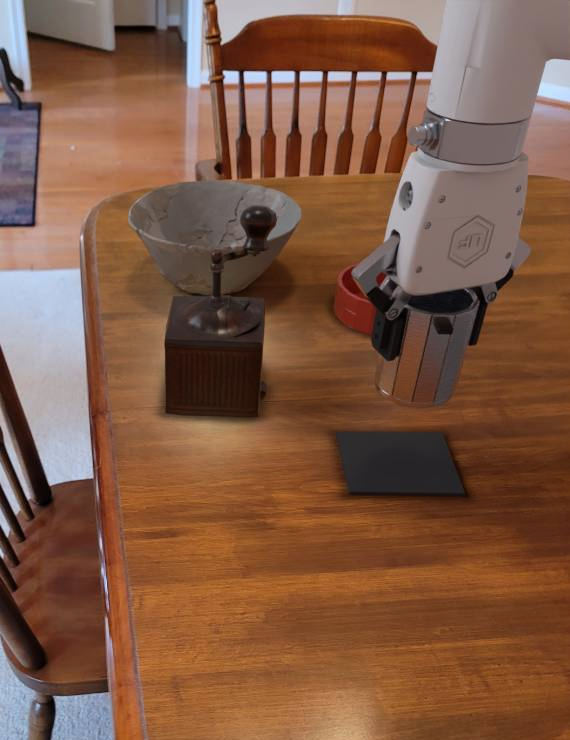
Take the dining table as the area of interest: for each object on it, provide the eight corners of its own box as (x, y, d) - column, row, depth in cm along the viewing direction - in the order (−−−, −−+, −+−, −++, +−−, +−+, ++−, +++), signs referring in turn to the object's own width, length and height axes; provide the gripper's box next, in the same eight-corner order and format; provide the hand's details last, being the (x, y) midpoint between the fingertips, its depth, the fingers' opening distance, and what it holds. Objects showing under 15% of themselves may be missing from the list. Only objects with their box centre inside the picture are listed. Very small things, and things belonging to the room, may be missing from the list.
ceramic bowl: (298, 253, 121) (306, 182, 115) (287, 329, 105) (295, 252, 98) (149, 243, 124) (147, 174, 118) (115, 316, 108) (111, 240, 101)
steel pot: (441, 359, 81) (463, 270, 75) (465, 416, 74) (492, 324, 68) (367, 358, 81) (383, 270, 75) (383, 415, 74) (403, 323, 68)
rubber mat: (441, 438, 87) (442, 432, 87) (463, 499, 80) (465, 493, 79) (335, 437, 88) (336, 431, 87) (348, 498, 80) (349, 491, 80)
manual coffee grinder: (265, 422, 90) (279, 261, 78) (163, 417, 91) (161, 257, 78) (266, 349, 101) (279, 199, 89) (175, 345, 102) (175, 196, 90)
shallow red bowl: (425, 292, 112) (432, 260, 109) (446, 341, 102) (454, 307, 99) (328, 292, 112) (332, 259, 109) (340, 340, 103) (345, 306, 100)
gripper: (394, 165, 58) (356, 384, 70) (602, 139, 62) (532, 350, 74) (344, 132, 63) (316, 341, 75) (538, 110, 67) (482, 312, 79)
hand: (423, 344), depth 75 cm, fingers closed on steel pot, 7 cm apart
